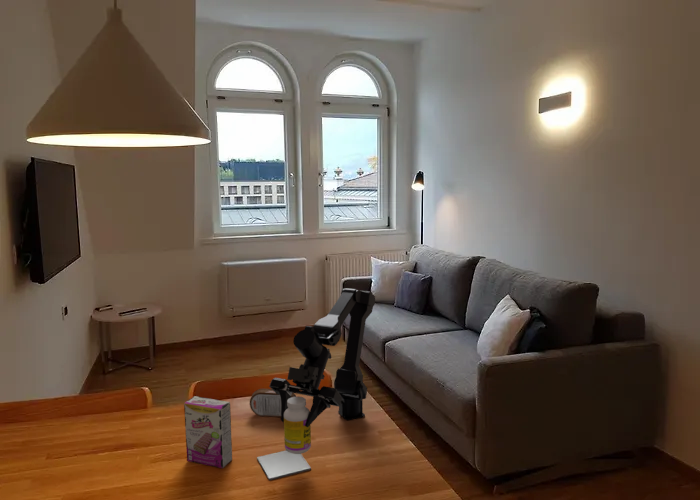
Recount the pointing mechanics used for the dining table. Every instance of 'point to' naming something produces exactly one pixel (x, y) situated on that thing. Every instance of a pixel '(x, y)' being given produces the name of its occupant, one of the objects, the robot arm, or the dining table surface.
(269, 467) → the slate coaster
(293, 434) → the supplement bottle
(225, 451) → the candy bar box
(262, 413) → the tin
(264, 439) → the dining table surface
